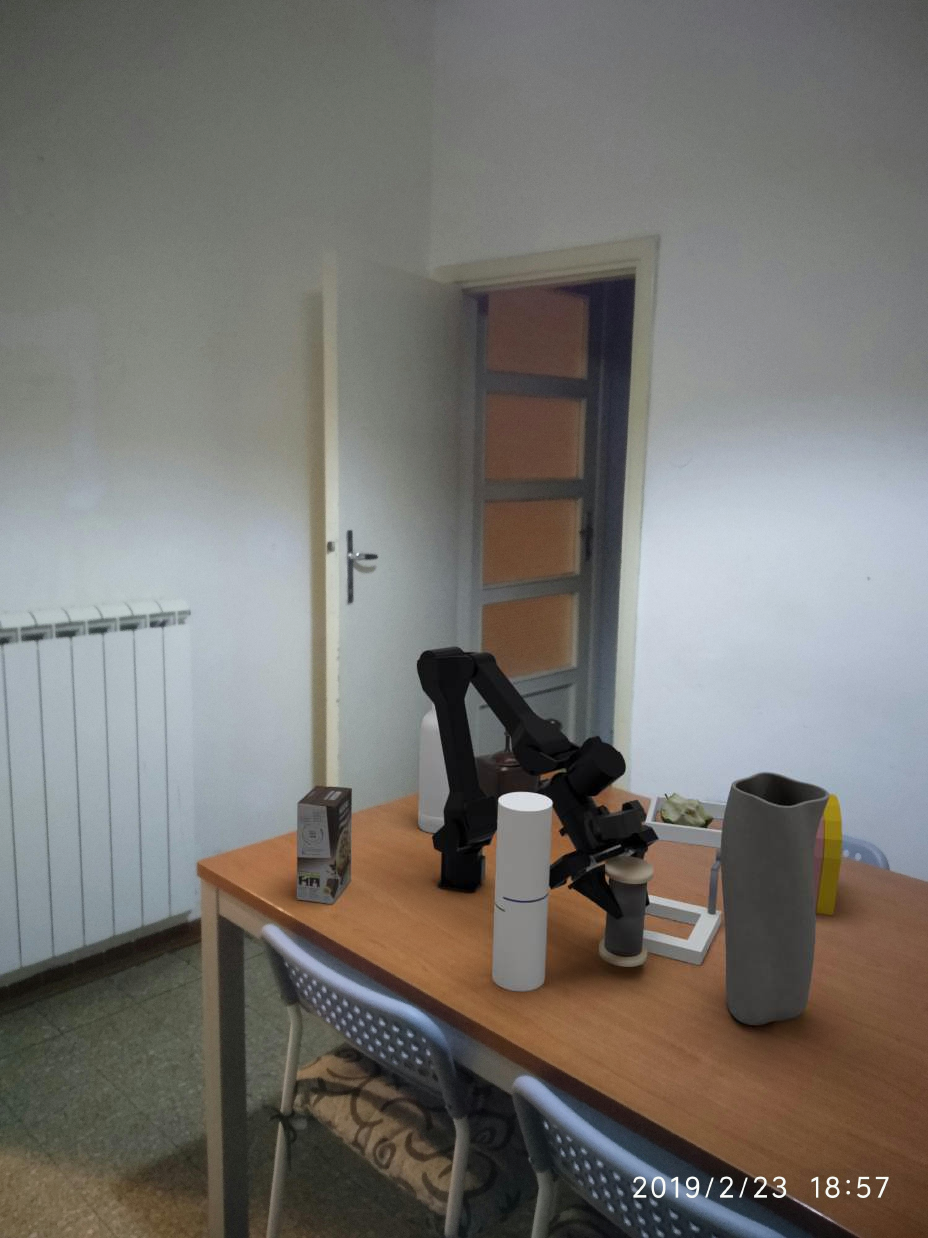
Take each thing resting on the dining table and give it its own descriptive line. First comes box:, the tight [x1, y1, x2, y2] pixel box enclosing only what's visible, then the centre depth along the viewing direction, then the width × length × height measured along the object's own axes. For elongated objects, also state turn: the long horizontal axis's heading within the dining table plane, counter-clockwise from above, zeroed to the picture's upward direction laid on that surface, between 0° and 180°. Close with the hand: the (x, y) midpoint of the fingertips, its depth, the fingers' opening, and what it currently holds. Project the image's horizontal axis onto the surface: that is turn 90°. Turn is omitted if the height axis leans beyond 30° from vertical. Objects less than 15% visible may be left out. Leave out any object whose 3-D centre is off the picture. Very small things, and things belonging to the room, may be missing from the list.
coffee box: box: [296, 785, 353, 905], centre depth 152 cm, size 9×6×16 cm
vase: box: [720, 771, 830, 1026], centre depth 120 cm, size 12×12×30 cm
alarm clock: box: [813, 793, 843, 916], centre depth 154 cm, size 15×8×18 cm, turn 168°
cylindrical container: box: [491, 792, 553, 992], centre depth 127 cm, size 7×7×25 cm
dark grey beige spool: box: [598, 856, 654, 968], centre depth 131 cm, size 7×7×13 cm
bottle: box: [417, 701, 449, 835], centre depth 178 cm, size 8×8×30 cm
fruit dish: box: [644, 794, 727, 849], centre depth 183 cm, size 16×16×3 cm
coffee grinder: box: [474, 717, 563, 814], centre depth 193 cm, size 16×11×18 cm
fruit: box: [659, 792, 714, 829], centre depth 181 cm, size 9×9×8 cm
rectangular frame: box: [643, 848, 722, 966], centre depth 142 cm, size 14×16×11 cm
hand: (634, 912), depth 130 cm, fingers closed on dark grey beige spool, 5 cm apart
